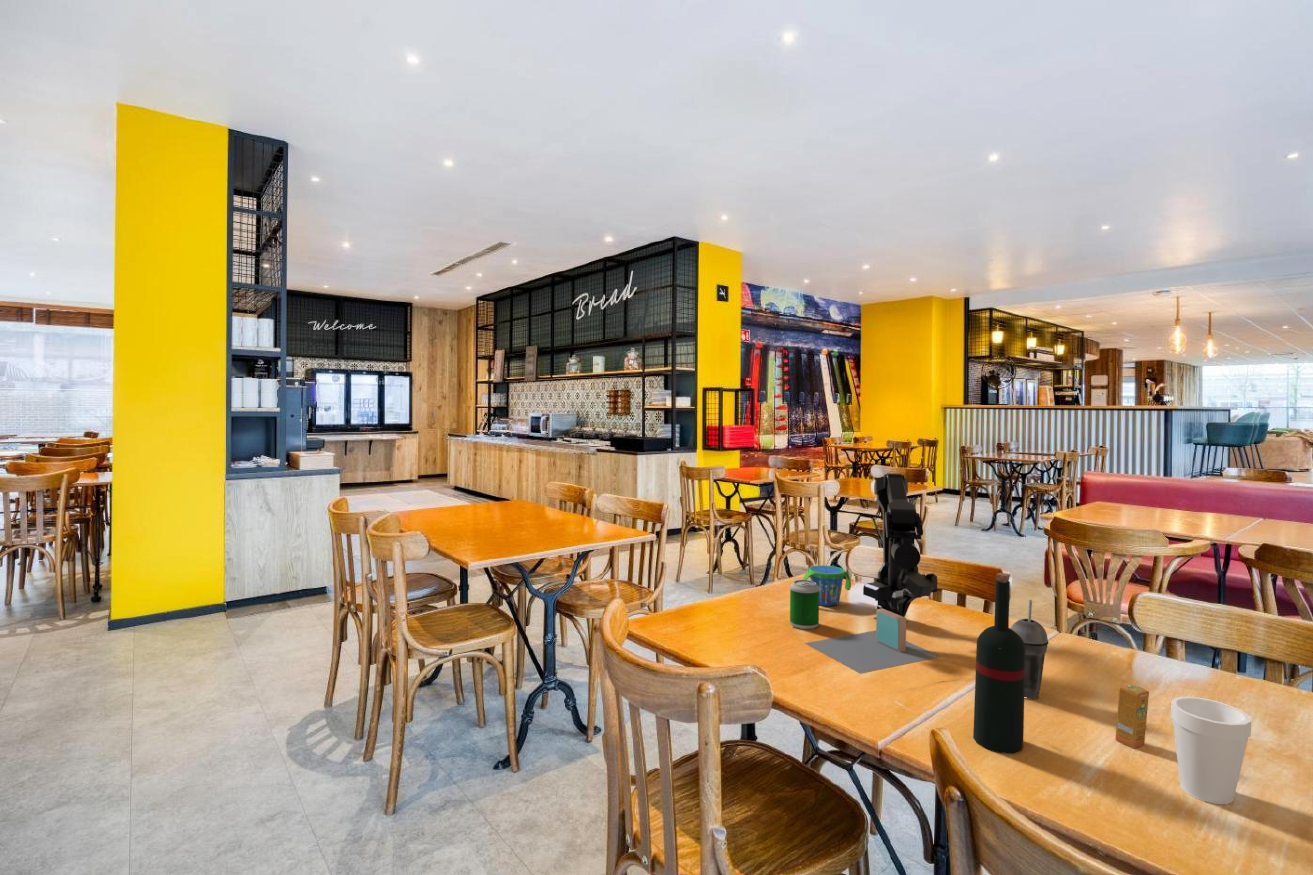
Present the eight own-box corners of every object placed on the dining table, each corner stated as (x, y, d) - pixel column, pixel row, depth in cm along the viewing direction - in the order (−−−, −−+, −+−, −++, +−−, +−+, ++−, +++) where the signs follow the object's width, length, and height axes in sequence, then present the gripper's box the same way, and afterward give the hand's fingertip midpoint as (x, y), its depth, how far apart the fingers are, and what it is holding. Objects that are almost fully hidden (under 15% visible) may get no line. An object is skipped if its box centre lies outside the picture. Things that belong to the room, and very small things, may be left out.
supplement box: (1135, 749, 116) (1137, 693, 115) (1114, 740, 119) (1116, 685, 118) (1147, 745, 117) (1149, 689, 117) (1126, 736, 120) (1129, 682, 120)
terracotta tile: (881, 640, 167) (882, 608, 167) (905, 651, 160) (906, 617, 159) (875, 641, 166) (876, 609, 166) (899, 652, 159) (899, 619, 159)
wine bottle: (1037, 740, 119) (1043, 573, 117) (1009, 758, 113) (1015, 583, 111) (993, 723, 125) (997, 564, 124) (964, 739, 119) (969, 573, 118)
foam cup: (1179, 802, 101) (1183, 718, 100) (1158, 770, 109) (1162, 692, 109) (1259, 816, 97) (1263, 729, 97) (1231, 782, 106) (1235, 702, 105)
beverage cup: (1042, 689, 140) (1045, 595, 139) (1050, 704, 133) (1054, 605, 132) (1003, 684, 142) (1006, 591, 141) (1009, 699, 135) (1012, 601, 134)
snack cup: (841, 596, 206) (842, 563, 206) (859, 606, 196) (859, 572, 196) (794, 599, 203) (794, 566, 203) (809, 610, 193) (809, 575, 192)
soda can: (821, 632, 174) (822, 586, 174) (792, 632, 175) (793, 586, 174) (815, 622, 182) (815, 579, 181) (787, 622, 182) (787, 578, 181)
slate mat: (880, 631, 175) (880, 629, 175) (941, 659, 156) (941, 656, 156) (804, 645, 165) (804, 643, 165) (860, 676, 147) (860, 673, 147)
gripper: (896, 570, 152) (894, 638, 153) (956, 562, 160) (954, 627, 160) (862, 560, 162) (861, 623, 163) (920, 553, 170) (918, 613, 170)
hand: (899, 622), depth 164 cm, fingers closed
